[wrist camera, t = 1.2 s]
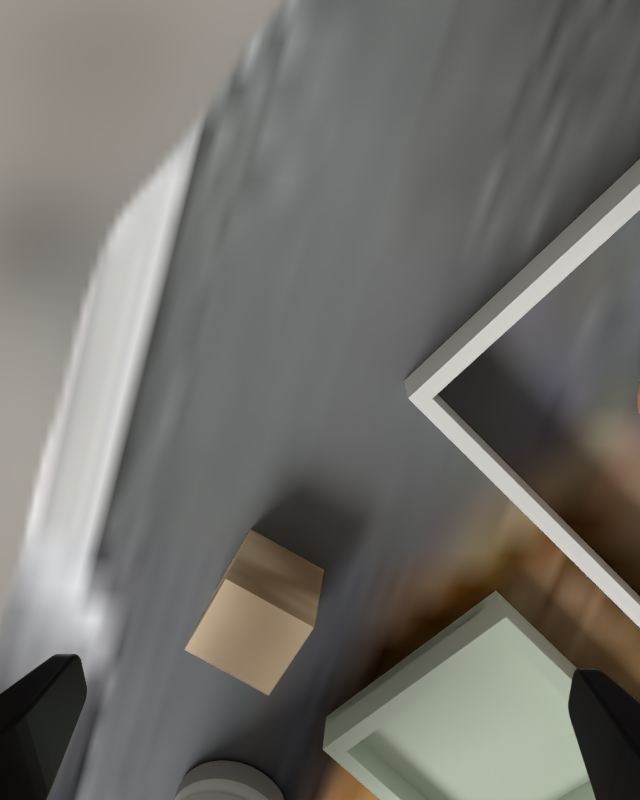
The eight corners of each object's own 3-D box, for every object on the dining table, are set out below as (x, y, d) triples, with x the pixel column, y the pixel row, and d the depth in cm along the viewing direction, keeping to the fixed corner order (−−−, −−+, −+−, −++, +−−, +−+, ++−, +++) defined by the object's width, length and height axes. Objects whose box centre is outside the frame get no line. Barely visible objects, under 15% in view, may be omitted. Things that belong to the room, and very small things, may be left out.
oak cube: (324, 569, 23) (314, 627, 19) (285, 628, 24) (268, 695, 20) (251, 528, 23) (225, 578, 19) (215, 590, 24) (184, 649, 20)
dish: (655, 743, 23) (677, 781, 22) (475, 848, 26) (482, 888, 24) (495, 590, 22) (505, 617, 21) (326, 716, 25) (322, 749, 23)
